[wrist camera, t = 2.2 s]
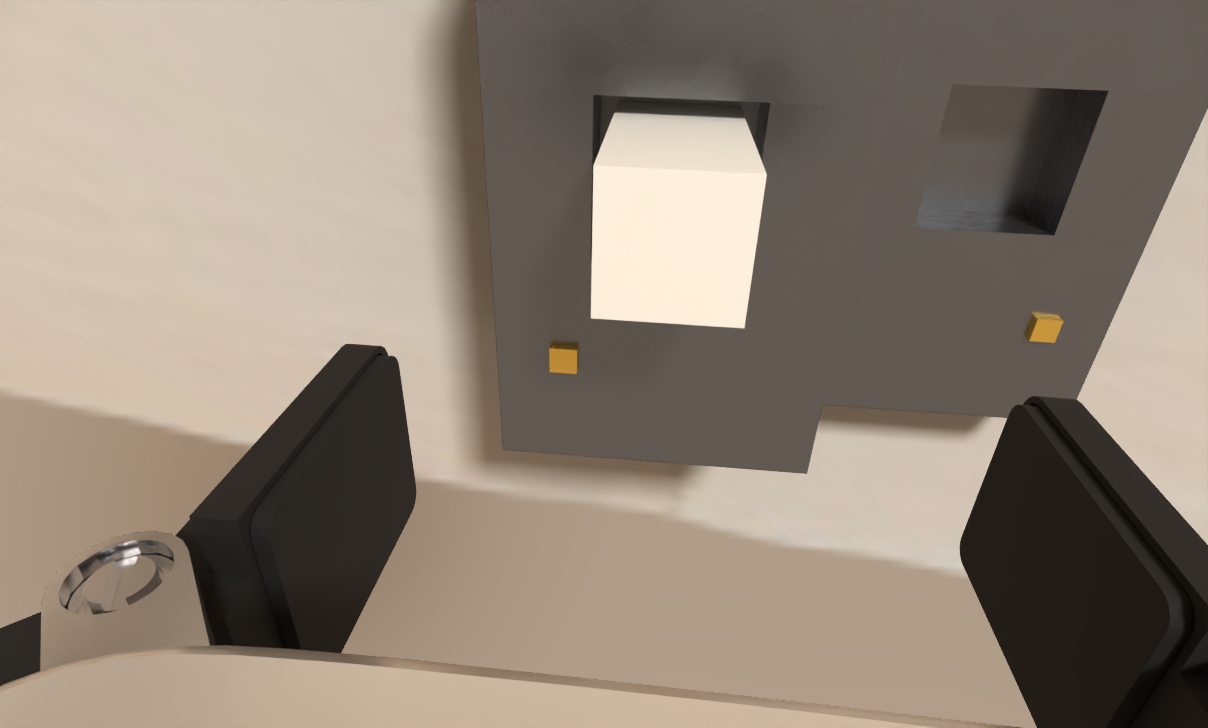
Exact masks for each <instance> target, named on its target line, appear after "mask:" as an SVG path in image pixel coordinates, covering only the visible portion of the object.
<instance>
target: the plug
mask: <svg viewBox="0 0 1208 728" xmlns="http://www.w3.org/2000/svg"><path fill="white" fill-rule="evenodd" d="M766 177H767V173H766V171H765V168H764V166H763V163H762V160H761V158H760V155H759V153H758V150H757V148H756V145H755V142H754V140H753V137H752V135H751V132H750V130H749V127H748V125H747V122H746V119H745V117H744V114H743V112H742V109H741V107H735V106H712V105H690V104H667V103H645V102H622V101H619V102H618V105H617V107H616V110H615V112H614V115H613V118H612V120H611V123H610V125H609V128H608V130H607V133H606V135H605V138H604V140H603V143H602V145H601V148H600V150H599V153H598V155H597V158H596V160H595V163H594V165H593V220H592V277H591V318H593V319H608V320H623V321H639V322H654V323H669V324H684V325H700V326H715V327H730V328H744V327H745V321H746V314H747V307H748V300H749V293H750V286H751V280H752V273H753V266H754V259H755V252H756V245H757V239H758V232H759V225H760V218H761V211H762V204H763V197H764V191H765V184H766Z"/></svg>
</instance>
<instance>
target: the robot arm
mask: <svg viewBox="0 0 1208 728" xmlns="http://www.w3.org/2000/svg"><path fill="white" fill-rule="evenodd" d="M415 499H416V484H415V477H414V470H413V463H412V455H411V448H410V441H409V434H408V427H407V420H406V413H405V406H404V398H403V391H402V384H401V377H400V370H399V364H398V361H397V359H396V358H395V357H394V356H388V353H387V351H386V349H385V348H384V347H382V346H370V345H357V344H345V345H344V346H343V347H342V348H341V349H340V350H339V351H338V352H337V353H336V354H335V355H334V356H333V357H332V359H331V360H330V361H329V362H328V363H327V364H326V365H325V366H324V367H323V369H322V370H321V371H320V372H319V373H318V374H317V375H316V376H315V377H314V379H313V380H312V381H311V382H310V383H309V384H308V385H307V386H306V387H305V389H304V390H303V391H302V392H301V393H300V394H299V395H298V396H297V397H296V399H295V400H294V401H293V402H292V403H291V404H290V405H289V406H288V407H287V409H286V410H285V411H284V412H283V413H282V414H281V415H280V416H279V417H278V419H277V420H276V421H275V422H274V423H273V424H272V425H271V426H270V427H269V429H268V430H267V431H266V432H265V433H264V434H263V435H262V436H261V437H260V439H259V440H258V441H257V442H256V443H255V444H254V445H253V446H252V447H251V449H250V450H249V451H248V452H247V453H246V454H245V455H244V456H243V458H242V459H241V460H240V461H239V462H238V463H237V464H236V465H235V466H234V467H233V468H232V470H231V471H230V472H229V473H228V474H227V475H226V477H224V479H223V480H222V481H221V482H220V483H219V484H218V485H217V486H216V487H215V489H214V490H213V491H212V492H211V493H210V494H209V495H208V496H207V498H206V499H205V500H204V501H203V502H202V503H201V504H200V505H199V506H198V507H197V509H196V510H195V511H194V512H193V513H192V514H191V515H190V516H189V517H190V520H189V521H188V522H187V523H186V524H185V526H184V527H183V528H182V529H181V530H180V531H179V532H178V533H177V535H176V536H174V535H173V534H171V533H165V532H159V531H145V532H134V533H130V534H126V535H122V536H117V537H114V538H111V539H109V540H107V541H104V542H102V543H100V544H97V545H94V546H92V547H91V548H89V549H87V550H86V551H84V552H82V553H81V554H79V555H77V556H76V557H74V558H73V559H71V560H70V561H69V562H68V563H67V564H66V565H64V566H63V567H62V568H61V569H60V570H59V571H58V572H56V574H55V575H54V577H53V578H52V579H51V581H50V582H49V584H48V585H47V586H46V588H45V591H44V595H43V598H42V602H41V612H40V613H37V614H35V615H32V616H30V617H27V618H25V619H22V620H20V621H17V622H15V623H13V624H10V625H8V626H5V627H3V628H0V728H1020V727H1011V726H1002V725H994V724H985V723H976V722H968V721H960V720H950V719H942V718H934V717H925V716H917V715H908V714H900V713H891V712H883V711H874V710H866V709H857V708H849V707H840V706H830V705H822V704H813V703H804V702H795V701H786V700H778V699H769V698H759V697H751V696H742V695H733V694H724V693H715V692H706V691H697V690H688V689H678V688H670V687H661V686H651V685H643V684H633V683H625V682H616V681H606V680H598V679H587V678H579V677H569V676H559V675H550V674H540V673H532V672H522V671H512V670H502V669H494V668H484V667H475V666H465V665H456V664H446V663H437V662H428V661H418V660H409V659H398V658H387V657H375V656H364V655H353V654H342V653H341V652H342V650H343V648H344V646H345V644H346V642H347V640H348V638H349V636H350V634H351V632H352V630H353V628H354V626H355V624H356V622H357V620H358V618H359V616H360V614H361V612H362V610H363V608H364V606H365V604H366V602H367V600H368V598H369V596H370V594H371V592H372V590H373V588H374V586H375V584H376V582H377V580H378V578H379V576H380V574H381V572H382V570H383V568H384V566H385V564H386V563H387V561H388V559H389V556H390V554H391V552H392V550H393V549H394V547H395V545H396V542H397V541H398V538H399V537H400V535H401V533H402V531H403V529H404V527H405V525H406V523H407V521H408V519H409V517H410V515H411V513H412V511H413V508H414V504H415ZM960 556H961V561H962V564H963V566H964V568H965V570H966V573H967V575H968V577H969V579H970V581H971V584H972V586H973V588H974V590H975V592H976V594H977V597H978V599H979V601H980V603H981V606H982V608H983V610H984V612H985V614H986V617H987V619H988V621H989V623H990V625H991V628H992V630H993V632H994V634H995V636H996V638H997V640H998V643H999V645H1000V647H1001V649H1002V652H1003V654H1004V656H1005V658H1006V660H1007V663H1008V665H1009V667H1010V669H1011V671H1012V674H1013V676H1014V678H1015V680H1016V682H1017V684H1018V686H1019V689H1020V691H1021V693H1022V696H1023V698H1024V700H1025V702H1026V704H1027V706H1028V709H1029V711H1030V713H1031V715H1032V718H1033V720H1034V722H1035V724H1036V726H1037V728H1208V545H1207V544H1206V543H1205V542H1204V540H1203V539H1202V538H1201V537H1200V536H1199V535H1198V534H1197V533H1196V531H1195V530H1194V529H1193V528H1192V527H1191V526H1190V525H1189V524H1188V523H1187V521H1186V520H1185V519H1184V518H1183V517H1182V516H1181V515H1180V514H1179V512H1178V511H1177V510H1176V509H1175V508H1174V507H1173V506H1172V505H1171V503H1170V502H1169V501H1168V500H1167V499H1166V498H1165V497H1164V496H1163V494H1162V493H1161V492H1160V491H1159V490H1158V489H1157V488H1156V487H1155V485H1154V484H1153V483H1152V482H1151V481H1150V480H1149V479H1148V478H1147V476H1146V475H1145V474H1144V473H1143V472H1142V471H1141V470H1140V469H1139V467H1138V466H1137V465H1136V464H1135V463H1134V462H1133V461H1132V460H1131V459H1130V457H1129V456H1128V455H1127V454H1126V453H1125V452H1124V451H1123V450H1122V448H1121V447H1120V446H1119V445H1118V444H1117V443H1116V442H1115V441H1114V439H1113V438H1112V437H1111V436H1110V435H1109V434H1108V433H1107V432H1106V430H1105V429H1104V428H1103V427H1102V426H1101V425H1100V424H1099V423H1098V421H1097V420H1096V419H1095V418H1094V417H1093V416H1092V415H1091V414H1090V412H1089V411H1088V410H1087V409H1086V408H1085V407H1084V406H1083V405H1082V404H1081V403H1080V402H1079V401H1078V400H1075V399H1067V398H1054V397H1041V396H1032V397H1029V398H1028V399H1027V400H1026V401H1025V402H1024V404H1023V405H1019V404H1018V405H1016V406H1014V407H1013V408H1012V409H1011V411H1010V413H1009V416H1008V418H1007V421H1006V423H1005V426H1004V429H1003V431H1002V434H1001V436H1000V439H999V442H998V444H997V447H996V449H995V452H994V454H993V457H992V460H991V462H990V465H989V467H988V470H987V473H986V475H985V478H984V480H983V483H982V486H981V488H980V491H979V493H978V496H977V499H976V501H975V504H974V506H973V509H972V512H971V514H970V517H969V519H968V522H967V524H966V527H965V530H964V532H963V535H962V538H961V541H960Z"/></svg>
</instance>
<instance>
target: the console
mask: <svg viewBox="0 0 1208 728" xmlns="http://www.w3.org/2000/svg"><path fill="white" fill-rule="evenodd" d="M475 7H476V23H477V39H478V56H479V72H480V88H481V104H482V120H483V136H484V152H485V169H486V185H487V201H488V217H489V233H490V249H491V265H492V282H493V298H494V314H495V330H496V346H497V362H498V378H499V395H500V411H501V427H502V443H503V450H512V451H525V452H538V453H551V454H563V455H576V456H589V457H601V458H614V459H627V460H639V461H652V462H665V463H678V464H690V465H703V466H716V467H728V468H741V469H754V470H767V471H779V472H792V473H805V474H807V471H808V466H809V462H810V457H811V453H812V449H813V444H814V440H815V435H816V431H817V426H818V422H819V418H820V413H821V409H822V405H836V406H850V407H864V408H878V409H892V410H905V411H919V412H933V413H947V414H961V415H975V416H989V417H1003V418H1008V416H1009V413H1010V411H1011V409H1012V408H1013V407H1014V406H1016V405H1018V404H1019V405H1023V404H1024V402H1025V401H1026V400H1027V399H1028V398H1029V397H1032V396H1041V397H1054V398H1067V399H1075V400H1076V399H1077V397H1078V395H1079V393H1080V390H1081V388H1082V386H1083V384H1084V381H1085V379H1086V377H1087V375H1088V373H1089V370H1090V368H1091V366H1092V364H1093V361H1094V359H1095V357H1096V355H1097V353H1098V350H1099V348H1100V346H1101V344H1102V342H1103V339H1104V337H1105V335H1106V333H1107V330H1108V328H1109V326H1110V324H1111V322H1112V319H1113V317H1114V315H1115V313H1116V310H1117V308H1118V306H1119V304H1120V302H1121V299H1122V297H1123V295H1124V293H1125V290H1126V288H1127V286H1128V284H1129V282H1130V279H1131V277H1132V275H1133V273H1134V270H1135V268H1136V266H1137V264H1138V262H1139V259H1140V257H1141V255H1142V253H1143V251H1144V248H1145V246H1146V244H1147V242H1148V239H1149V237H1150V235H1151V233H1152V231H1153V228H1154V226H1155V224H1156V222H1157V219H1158V217H1159V215H1160V213H1161V211H1162V208H1163V206H1164V204H1165V202H1166V199H1167V197H1168V195H1169V193H1170V191H1171V188H1172V186H1173V184H1174V182H1175V180H1176V177H1177V175H1178V173H1179V171H1180V168H1181V166H1182V164H1183V162H1184V160H1185V157H1186V155H1187V153H1188V151H1189V148H1190V146H1191V144H1192V142H1193V140H1194V137H1195V135H1196V133H1197V131H1198V128H1199V126H1200V124H1201V122H1202V120H1203V117H1204V115H1205V113H1206V111H1207V109H1208V0H475ZM619 101H622V102H645V103H667V104H690V105H712V106H735V107H741V109H742V112H743V114H744V117H745V119H746V122H747V125H748V127H749V130H750V132H751V135H752V137H753V140H754V142H755V145H756V148H757V150H758V153H759V155H760V158H761V160H762V163H763V166H764V168H765V171H766V173H767V177H766V184H765V191H764V197H763V204H762V211H761V218H760V225H759V232H758V239H757V245H756V252H755V259H754V266H753V273H752V280H751V286H750V293H749V300H748V307H747V314H746V321H745V327H744V328H730V327H715V326H700V325H684V324H669V323H654V322H639V321H623V320H608V319H593V318H591V277H592V220H593V165H594V163H595V160H596V158H597V155H598V153H599V150H600V148H601V145H602V143H603V140H604V138H605V135H606V133H607V130H608V128H609V125H610V123H611V120H612V118H613V115H614V112H615V110H616V107H617V105H618V102H619Z"/></svg>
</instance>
